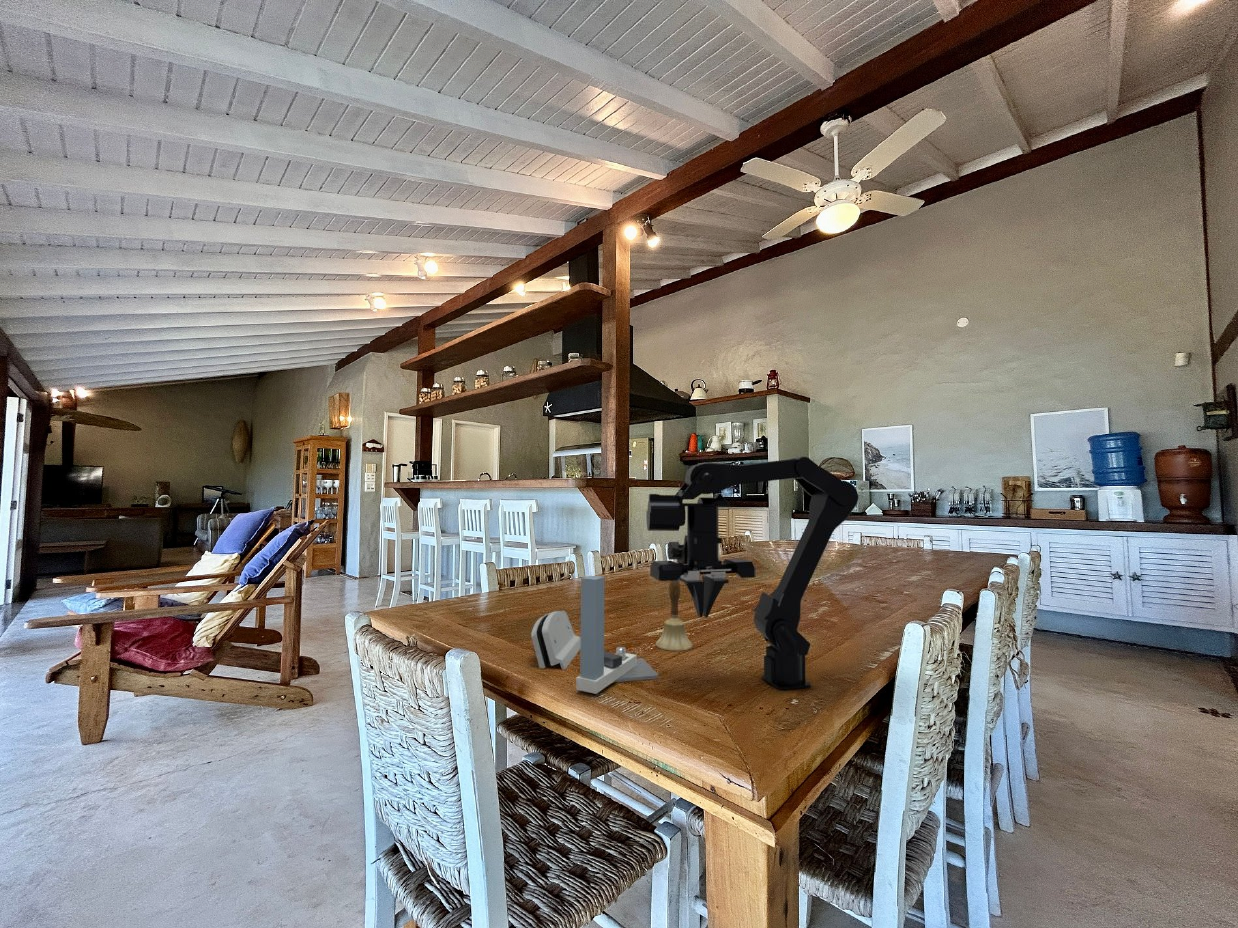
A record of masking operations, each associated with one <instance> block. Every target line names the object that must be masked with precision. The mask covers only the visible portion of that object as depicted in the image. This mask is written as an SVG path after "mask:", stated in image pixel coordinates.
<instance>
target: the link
mask: <svg viewBox="0 0 1238 928" xmlns="http://www.w3.org/2000/svg"><path fill="white" fill-rule="evenodd" d="M580 638H581V648H580V650H579V651H580V652H579V653H580V656H579V658H580V661H579V662H580V663H579V664H580V669H579V670H580V671H579V672H580V673H579V675H578V676H576V677H575V678H576V679H575V689H576V690H577V691H582V692H585V693H586V692H587V693H591V694H595V695H597V694H598V693H599V692H601V691H602V690H604V689H605V688H606V687H608V686H609V685H611V684H612V682H613V683H615V682H614V681H615V680H617V679H618V678H619V677H621V676H622V675H624V674H625V673H627V672H628V671H629V670H631V669H632V668H634V667H635V666H637V657H638V655H637V654H634V653H626V652H625V660H624V661H622V665H620V666H617V667H614V668H612V667H609V666H606V665H604V651H605V576H597V575H587V576H584V577H581V578H580Z"/></svg>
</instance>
